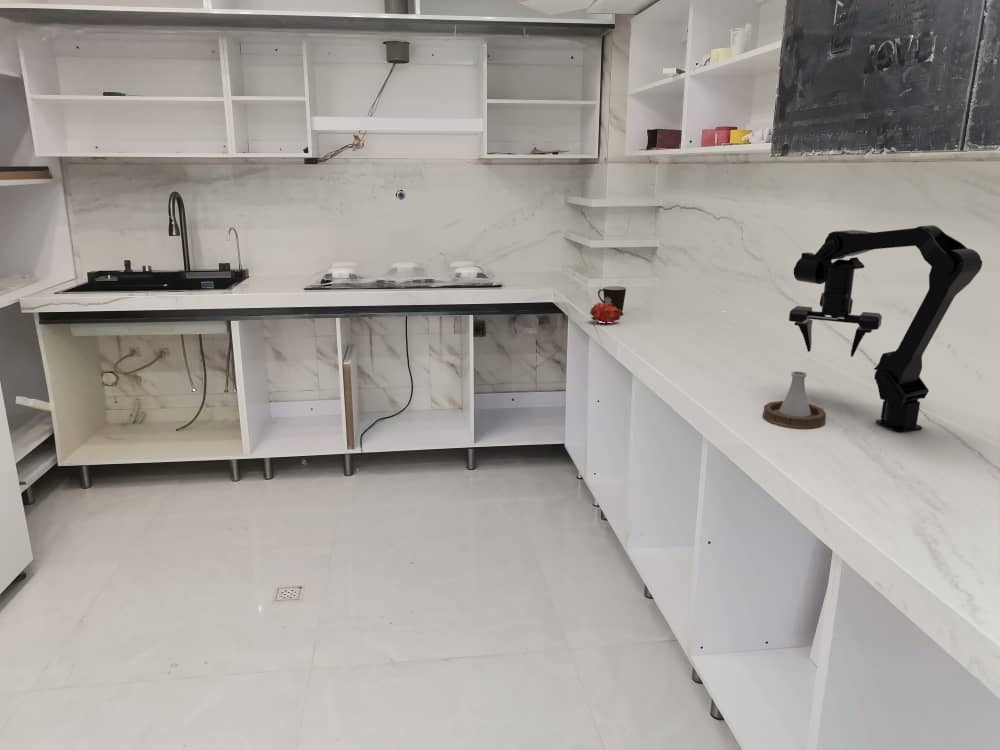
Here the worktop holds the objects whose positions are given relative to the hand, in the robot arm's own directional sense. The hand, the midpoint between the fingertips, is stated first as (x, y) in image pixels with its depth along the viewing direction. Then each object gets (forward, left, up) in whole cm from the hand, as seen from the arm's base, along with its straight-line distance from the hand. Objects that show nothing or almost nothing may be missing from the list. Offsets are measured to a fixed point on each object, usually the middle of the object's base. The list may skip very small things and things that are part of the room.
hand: (830, 353), depth 168 cm
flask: (-7, +14, -12) cm, 19 cm away
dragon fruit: (+99, +11, -12) cm, 100 cm away
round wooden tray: (-7, +14, -12) cm, 20 cm away
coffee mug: (+115, +1, -12) cm, 116 cm away
